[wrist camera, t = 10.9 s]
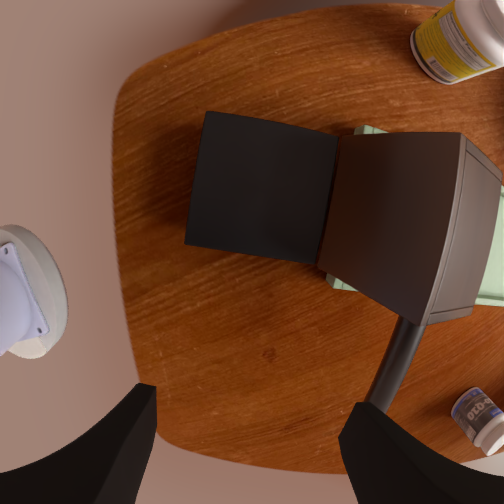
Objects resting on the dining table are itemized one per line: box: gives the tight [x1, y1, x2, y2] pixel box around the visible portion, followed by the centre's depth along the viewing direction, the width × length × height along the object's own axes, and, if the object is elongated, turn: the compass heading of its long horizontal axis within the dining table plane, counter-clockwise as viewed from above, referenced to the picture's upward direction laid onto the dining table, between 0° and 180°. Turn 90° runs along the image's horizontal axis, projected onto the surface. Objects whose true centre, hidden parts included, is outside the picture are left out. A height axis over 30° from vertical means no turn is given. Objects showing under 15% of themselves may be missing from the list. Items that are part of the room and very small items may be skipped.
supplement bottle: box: [410, 0, 504, 84], centre depth 11 cm, size 5×5×10 cm
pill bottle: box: [451, 387, 504, 456], centre depth 20 cm, size 5×5×8 cm
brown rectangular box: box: [317, 132, 503, 414], centre depth 13 cm, size 7×14×5 cm
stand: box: [184, 111, 339, 264], centre depth 16 cm, size 7×7×4 cm
